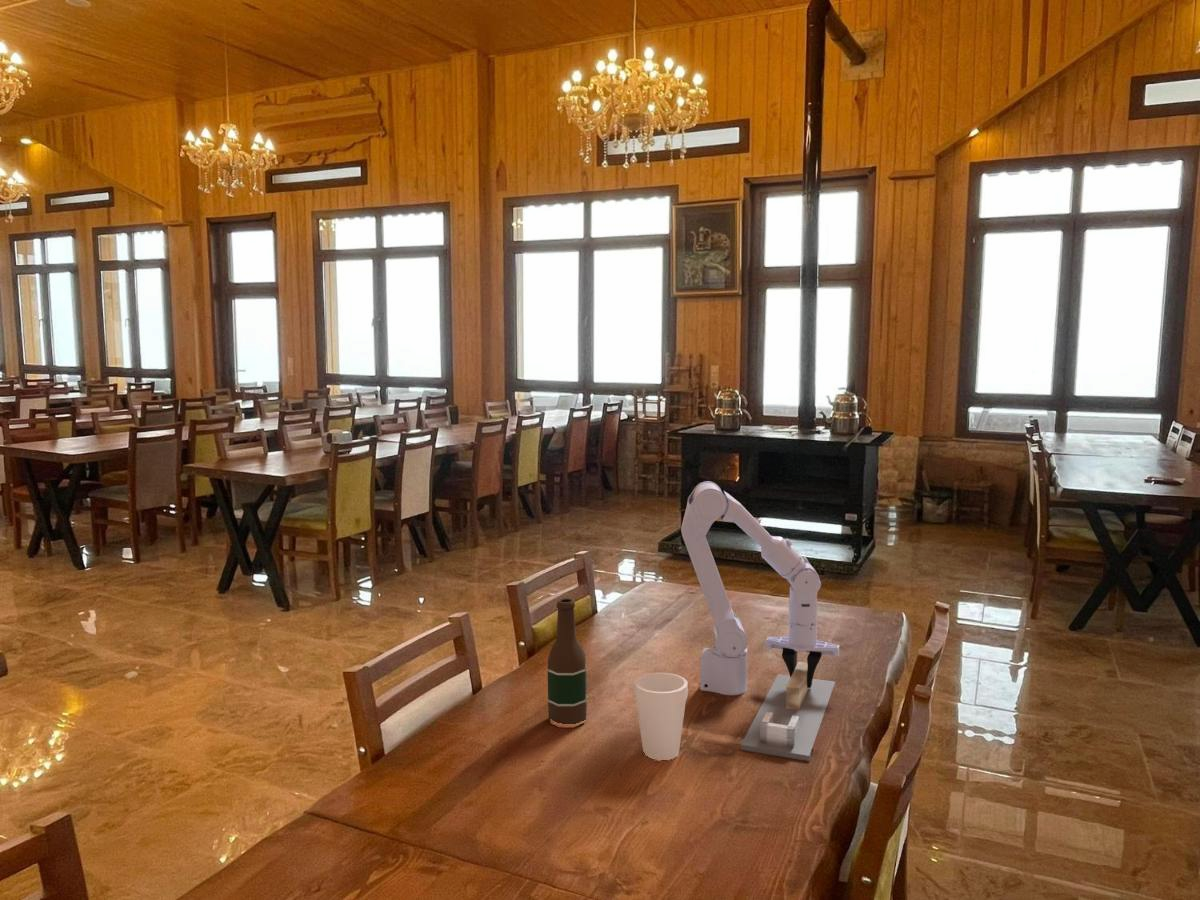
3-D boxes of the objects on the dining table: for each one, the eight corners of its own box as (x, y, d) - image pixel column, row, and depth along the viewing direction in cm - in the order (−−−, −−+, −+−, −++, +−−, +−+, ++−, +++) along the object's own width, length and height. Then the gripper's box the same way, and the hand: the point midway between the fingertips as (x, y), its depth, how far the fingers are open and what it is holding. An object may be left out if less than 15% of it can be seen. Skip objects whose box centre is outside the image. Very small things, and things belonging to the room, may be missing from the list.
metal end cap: (760, 742, 153) (760, 724, 152) (766, 729, 158) (766, 711, 157) (793, 748, 150) (793, 729, 150) (798, 734, 156) (799, 716, 155)
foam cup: (651, 770, 145) (651, 697, 144) (625, 747, 154) (624, 678, 152) (698, 757, 150) (698, 686, 148) (669, 736, 158) (669, 668, 156)
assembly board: (740, 749, 152) (741, 744, 152) (778, 678, 184) (778, 674, 184) (809, 761, 148) (809, 755, 148) (835, 686, 180) (835, 681, 180)
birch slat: (786, 708, 167) (786, 686, 166) (798, 682, 180) (798, 661, 179) (799, 710, 166) (799, 688, 165) (810, 683, 179) (810, 663, 178)
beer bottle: (594, 715, 167) (592, 597, 164) (576, 732, 160) (574, 608, 157) (559, 709, 170) (557, 592, 167) (540, 725, 163) (537, 603, 160)
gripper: (763, 623, 174) (762, 687, 175) (836, 631, 168) (835, 697, 170) (770, 613, 180) (769, 674, 182) (841, 620, 175) (839, 684, 176)
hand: (801, 685), depth 176 cm, fingers closed on birch slat, 2 cm apart
